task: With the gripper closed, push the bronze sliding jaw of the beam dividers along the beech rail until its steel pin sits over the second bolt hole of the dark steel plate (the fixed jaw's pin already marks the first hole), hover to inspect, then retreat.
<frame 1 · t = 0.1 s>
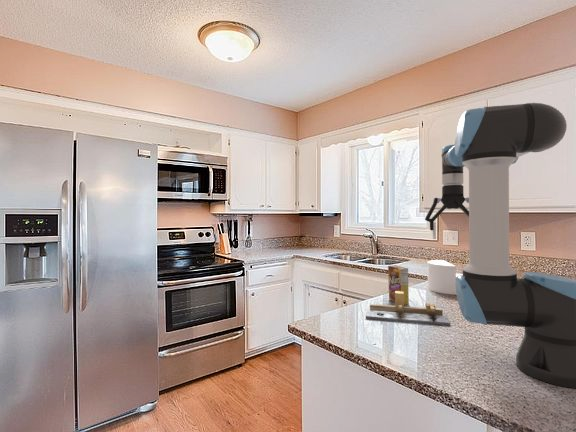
hand: (453, 239, 129), 28 cm above the worktop, fingers open, 13 cm apart
beam: (405, 313, 125), on the worktop
container: (449, 290, 162), on the worktop
plate: (405, 318, 119), on the worktop
candy box: (398, 302, 141), on the worktop
jaw: (399, 303, 123), point 4 cm above the worktop, slide at 2.0 cm
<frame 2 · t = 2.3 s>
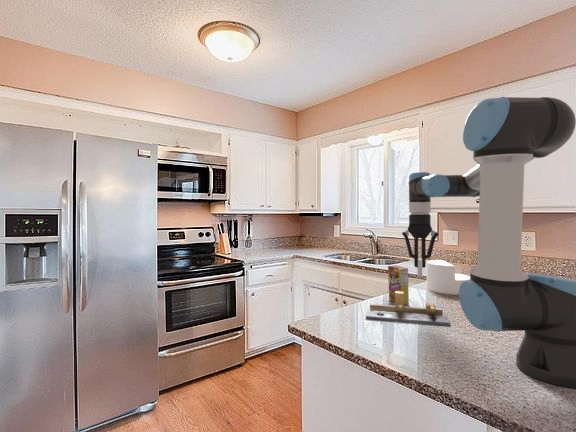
hand: (419, 276, 124), 15 cm above the worktop, fingers closed
nothing on the worktop moved.
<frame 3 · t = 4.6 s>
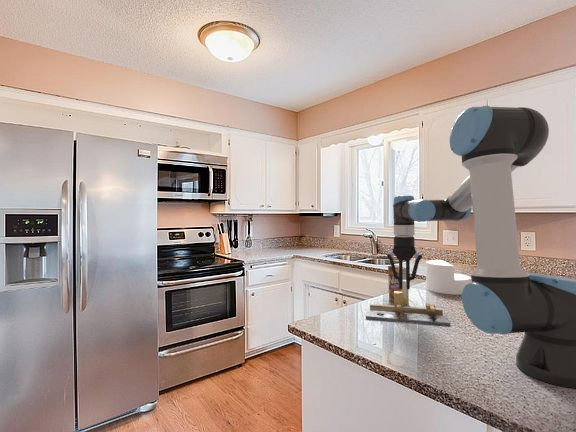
hand: (404, 297, 125), 6 cm above the worktop, fingers closed
jaw: (398, 303, 123), point 4 cm above the worktop, slide at 2.4 cm, touching gripper
everything else where it was.
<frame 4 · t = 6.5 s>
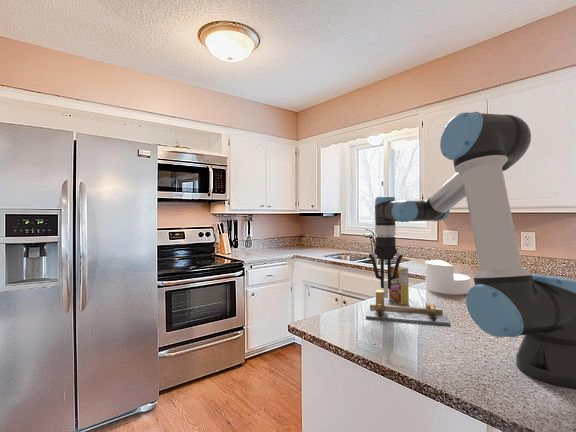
hand: (385, 296, 127), 6 cm above the worktop, fingers closed
jaw: (379, 302, 125), point 4 cm above the worktop, slide at 9.2 cm, touching gripper
everything else where it was.
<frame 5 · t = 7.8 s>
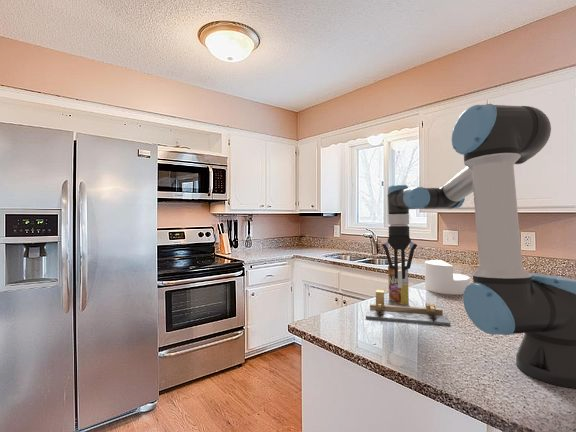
hand: (400, 287, 125), 10 cm above the worktop, fingers closed
jaw: (379, 302, 125), point 4 cm above the worktop, slide at 9.2 cm
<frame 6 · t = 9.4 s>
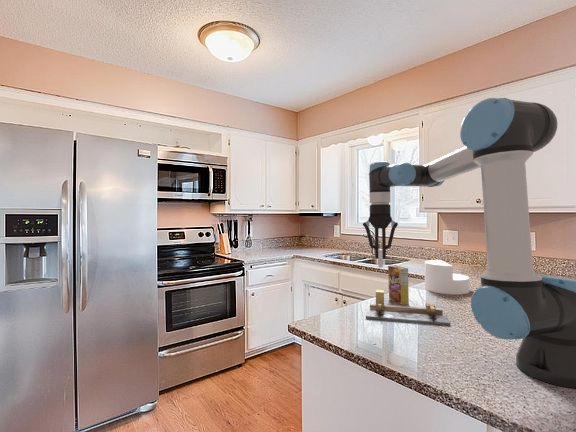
hand: (380, 266, 123), 18 cm above the worktop, fingers closed
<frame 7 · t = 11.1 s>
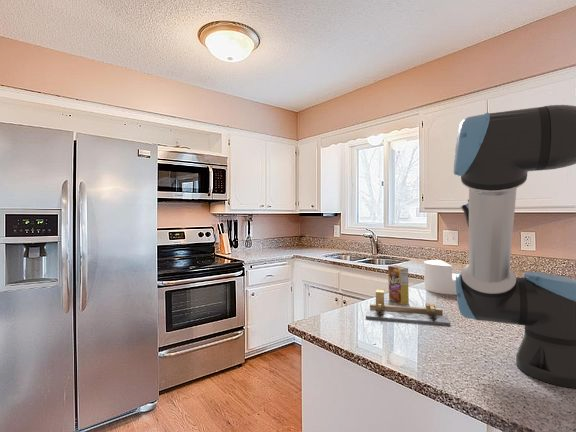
hand: (483, 255, 107), 24 cm above the worktop, fingers closed
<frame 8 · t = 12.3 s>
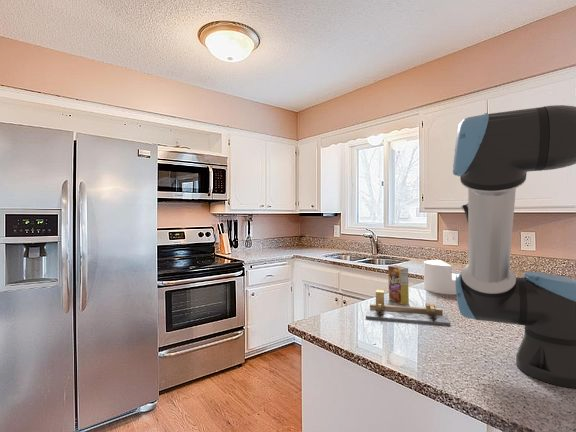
hand: (483, 255, 107), 24 cm above the worktop, fingers closed
at the end: jaw slide at 9.2 cm; the gripper is holding nothing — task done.
